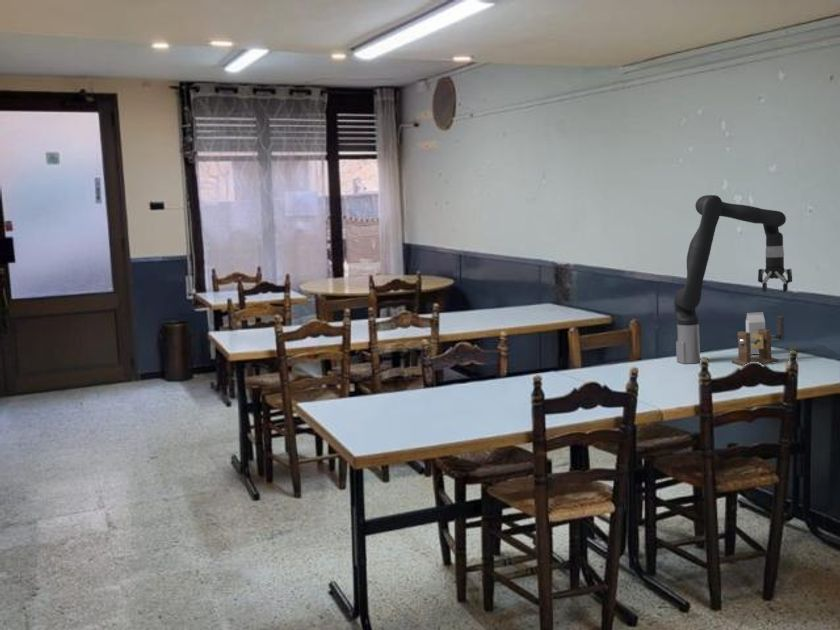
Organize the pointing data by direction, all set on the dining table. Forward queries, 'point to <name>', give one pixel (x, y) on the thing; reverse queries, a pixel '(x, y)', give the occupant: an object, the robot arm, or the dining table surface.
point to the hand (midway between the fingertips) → (775, 291)
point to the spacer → (760, 341)
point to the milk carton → (754, 326)
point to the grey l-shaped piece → (778, 330)
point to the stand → (745, 349)
